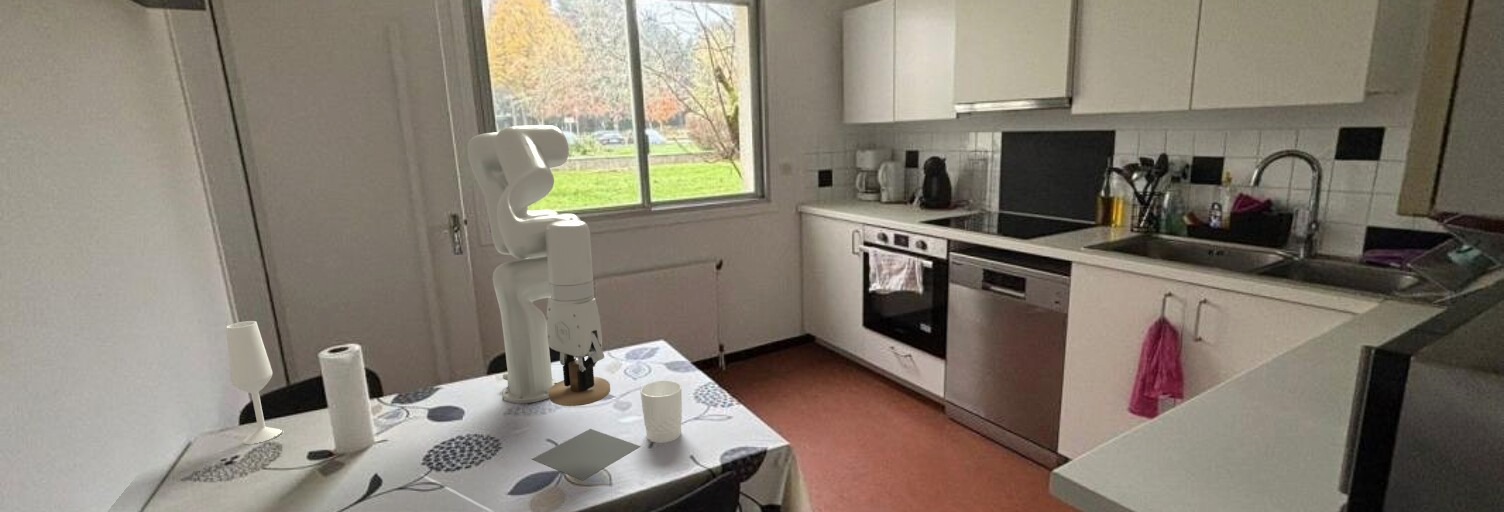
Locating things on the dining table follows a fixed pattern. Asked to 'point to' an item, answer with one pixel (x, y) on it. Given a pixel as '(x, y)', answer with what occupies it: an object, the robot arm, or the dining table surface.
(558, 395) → the lid
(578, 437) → the mat
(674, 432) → the white cup
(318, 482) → the dining table surface
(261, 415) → the champagne flute
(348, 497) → the dining table surface
